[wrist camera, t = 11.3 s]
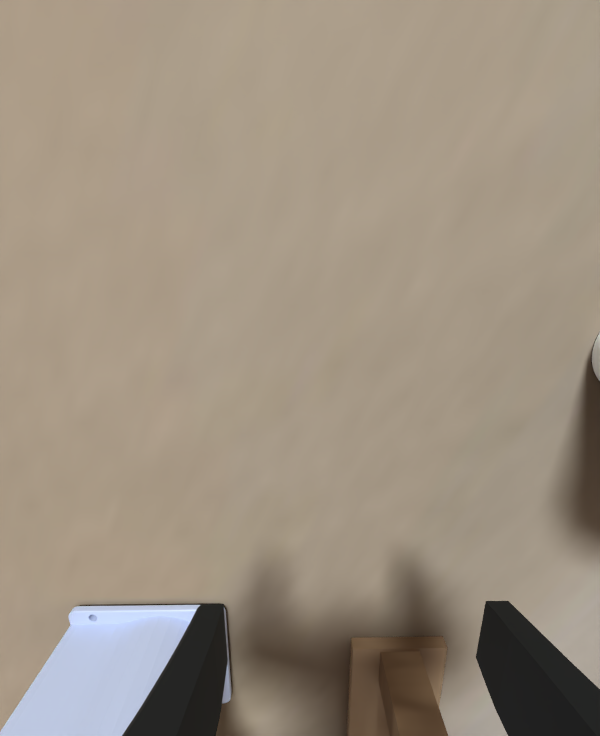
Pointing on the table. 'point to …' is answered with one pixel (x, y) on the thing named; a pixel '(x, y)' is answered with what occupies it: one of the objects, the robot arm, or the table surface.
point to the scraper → (396, 686)
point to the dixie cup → (596, 357)
